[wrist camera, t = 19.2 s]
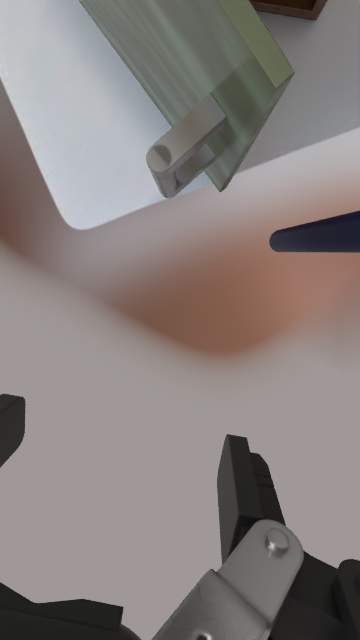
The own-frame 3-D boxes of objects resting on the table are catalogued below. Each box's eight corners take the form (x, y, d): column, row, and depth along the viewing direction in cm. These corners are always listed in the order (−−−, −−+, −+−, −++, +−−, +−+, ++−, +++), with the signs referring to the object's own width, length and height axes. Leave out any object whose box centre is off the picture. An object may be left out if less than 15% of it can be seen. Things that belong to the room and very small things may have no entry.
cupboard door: (182, 225, 37) (172, 181, 14) (33, 33, 33) (-322, -468, 10) (226, 187, 36) (295, 72, 13) (79, -16, 32) (-204, -708, 9)
